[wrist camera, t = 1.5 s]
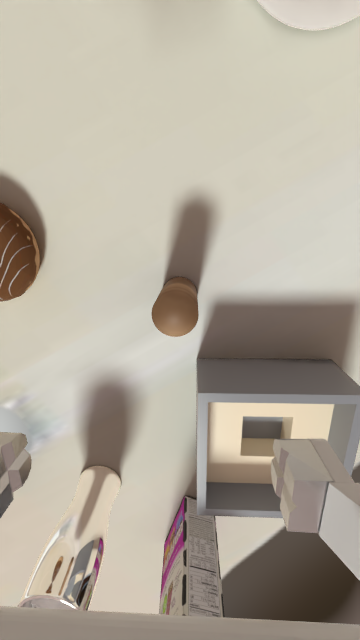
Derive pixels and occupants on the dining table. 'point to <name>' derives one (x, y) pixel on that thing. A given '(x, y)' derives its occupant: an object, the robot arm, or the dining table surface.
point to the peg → (176, 307)
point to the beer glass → (75, 547)
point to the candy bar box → (191, 566)
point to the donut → (16, 255)
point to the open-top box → (265, 426)
